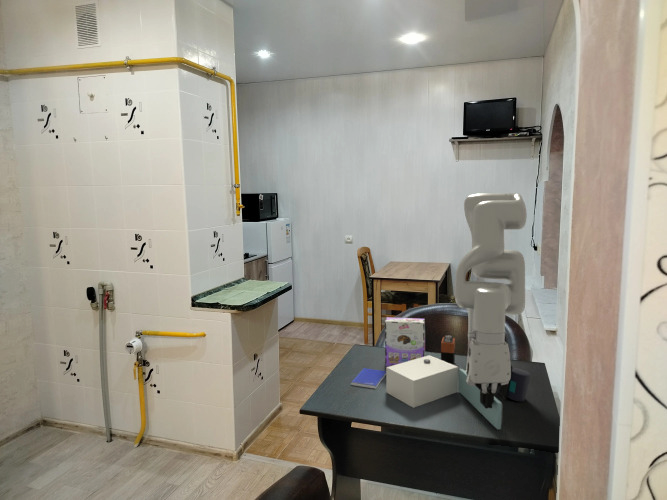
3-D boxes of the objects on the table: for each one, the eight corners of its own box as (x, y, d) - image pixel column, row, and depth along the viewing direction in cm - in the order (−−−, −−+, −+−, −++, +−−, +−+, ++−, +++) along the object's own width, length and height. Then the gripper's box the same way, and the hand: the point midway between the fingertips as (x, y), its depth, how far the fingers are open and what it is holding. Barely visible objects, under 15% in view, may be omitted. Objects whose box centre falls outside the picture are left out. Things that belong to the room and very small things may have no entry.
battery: (454, 362, 162) (455, 335, 160) (453, 369, 155) (454, 341, 154) (442, 360, 163) (442, 334, 162) (440, 367, 157) (440, 340, 155)
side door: (457, 390, 138) (458, 368, 137) (463, 389, 138) (463, 367, 137) (497, 429, 114) (498, 403, 114) (503, 428, 115) (504, 402, 114)
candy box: (424, 362, 161) (425, 318, 159) (424, 369, 156) (424, 322, 154) (386, 360, 165) (386, 316, 163) (384, 366, 159) (384, 320, 157)
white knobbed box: (431, 377, 148) (432, 352, 147) (460, 390, 138) (460, 364, 137) (386, 392, 138) (386, 365, 137) (413, 407, 128) (413, 378, 127)
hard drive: (375, 385, 141) (386, 371, 152) (351, 381, 144) (363, 367, 155) (375, 390, 141) (386, 375, 152) (351, 386, 144) (363, 372, 155)
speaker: (497, 399, 132) (502, 365, 130) (498, 392, 137) (503, 359, 136) (525, 406, 129) (531, 371, 128) (525, 398, 134) (530, 365, 133)
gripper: (464, 342, 110) (463, 414, 112) (524, 340, 110) (521, 411, 112) (454, 333, 117) (453, 400, 119) (510, 331, 118) (508, 398, 120)
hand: (486, 405), depth 116 cm, fingers closed
